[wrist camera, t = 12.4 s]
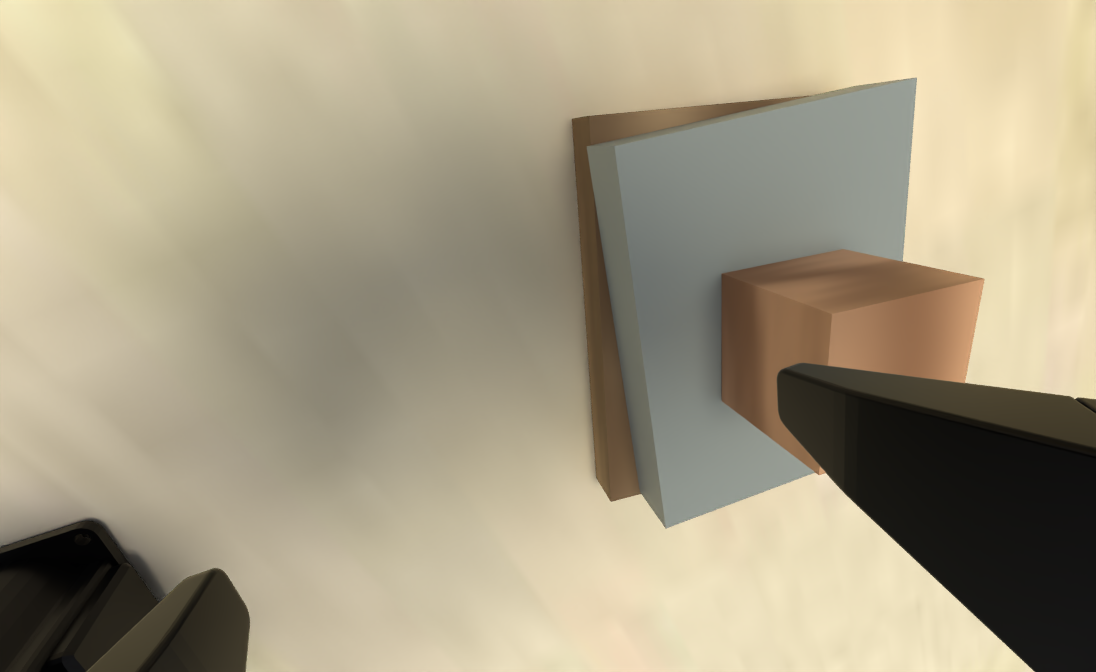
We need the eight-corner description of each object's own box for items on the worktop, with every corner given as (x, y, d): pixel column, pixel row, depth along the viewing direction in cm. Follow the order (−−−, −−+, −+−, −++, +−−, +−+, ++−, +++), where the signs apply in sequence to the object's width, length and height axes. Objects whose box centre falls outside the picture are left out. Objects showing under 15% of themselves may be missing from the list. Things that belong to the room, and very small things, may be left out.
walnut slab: (591, 470, 25) (610, 501, 23) (566, 119, 20) (589, 115, 17) (799, 418, 28) (834, 441, 26) (832, 95, 22) (881, 89, 20)
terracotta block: (721, 400, 20) (819, 475, 15) (721, 273, 18) (832, 314, 13) (832, 372, 21) (955, 433, 16) (843, 248, 19) (984, 278, 14)
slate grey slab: (639, 491, 23) (666, 528, 21) (586, 146, 18) (614, 146, 15) (844, 418, 25) (888, 445, 23) (856, 85, 20) (916, 77, 17)
